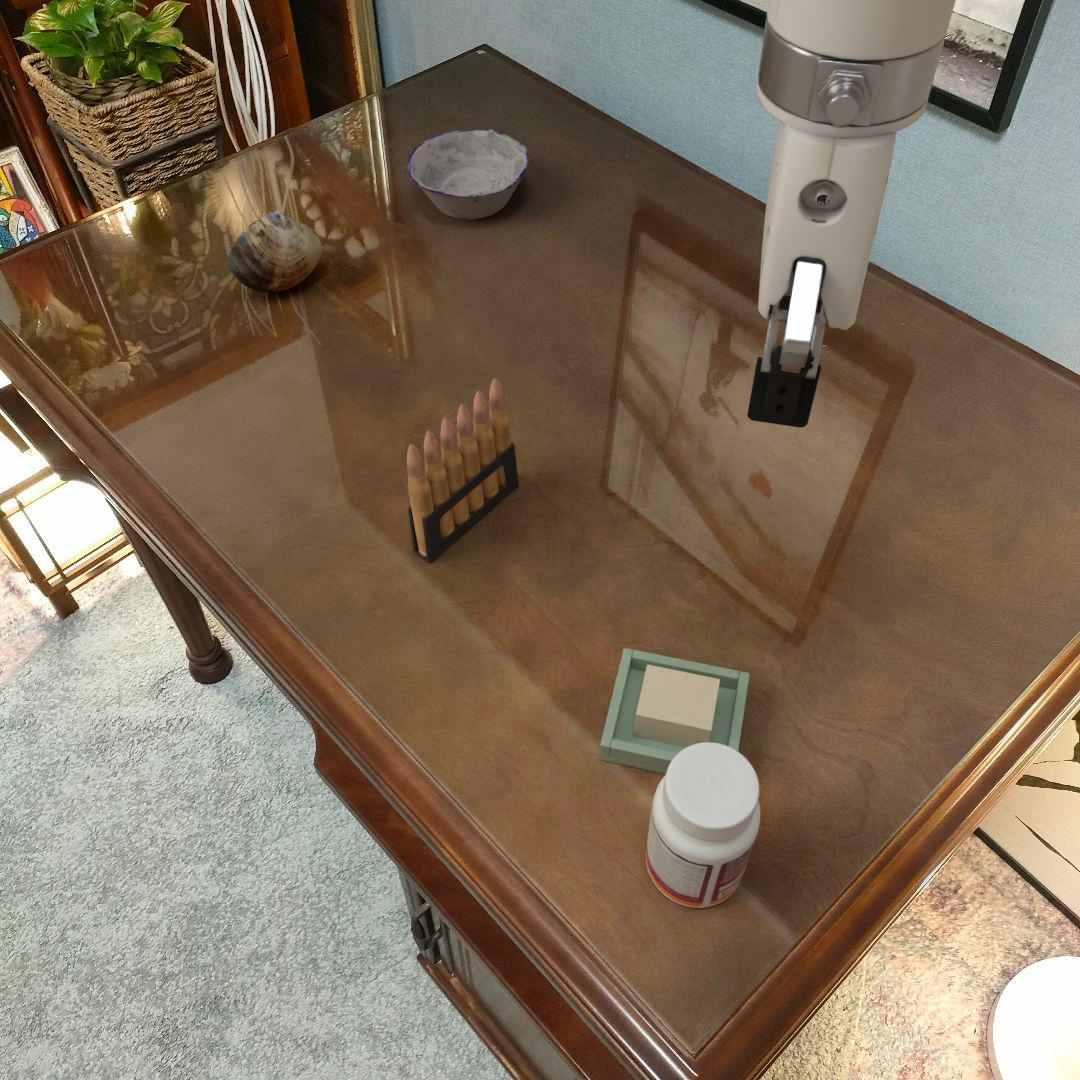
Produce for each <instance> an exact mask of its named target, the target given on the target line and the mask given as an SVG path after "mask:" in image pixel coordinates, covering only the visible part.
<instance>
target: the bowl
mask: <svg viewBox="0 0 1080 1080" xmlns="http://www.w3.org/2000/svg"><path fill="white" fill-rule="evenodd" d="M528 153H529V149H528V148H527V147H526V146H525V145H523V144H521V143H520V142H519V141H518V140H517V139H514V138H513V137H511V136H510V135H507V134H505V133H503V132H502V131H495V129H491V128H490V129H489V130H484V129H467V130H455V131H449V132H443V133H439V134H438V135H434V136H432V137H430V138H428V139H426V140H424V141H423V142H422V143H420V144H419V145H417V146H416V147H413V150H412V152H411V153H410V154H409V157H408V160H407V165H406V166H407V167H406V168H407V173H408V175H409V177H410V179H411V180H412V181H413V182H414V183H415V184H416V185H417V186H418V187H419V188H420V189H421V190H422V191H423V193H424V194H425V195H426V196H427V198H429V200H430V201H431V203H432V204H433V205H434V206H435V207H436V208H437V209H438V210H439V211H440V212H441V213H443V214H444V215H446V216H448V217H451V218H454V219H459V220H472V221H473V220H479V219H483V218H487V217H490V216H493V215H495V214H497V213H498V212H500V211H502V209H504V208H505V207H506V205H507V204H508V203H509V200H510V199H511V197H512V196H513V194H514V192H515V191H516V189H517V187H518V186H519V184H520V182H521V180H522V179H523V177H524V176H525V174H526V173H527V171H528V169H529V164H530V157H529V156H530V155H529V154H528Z"/></svg>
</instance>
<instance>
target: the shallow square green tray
mask: <svg viewBox="0 0 1080 1080" xmlns="http://www.w3.org/2000/svg"><path fill="white" fill-rule="evenodd" d="M647 665H653V666H658V667H662V668H667V669H672V670H677V671H682V672H687V673H692V674H697V675H702V676H707V677H711V678H716V679H720V684H719V690H718V696H717V702H716V708H715V714H714V720H713V726H712V731H711V736H710V740H709V742H712V743H719V744H723V745H726V746H729V747H731V748H733V749H735V750H736V751H738V752H740V751H739V750H740V744H741V737H742V729H743V724H744V723H743V722H744V718H745V717H744V716H745V710H746V703H747V697H748V690H749V682H750V676H751V673H750V672H747V671H740V670H736V669H732V668H727V667H722V666H717V665H712V664H709V663H708V664H707V663H702V662H698V661H697V662H696V661H692V660H687V659H682V658H677V657H674V656H673V657H672V656H668V655H662V654H658V653H653V652H648V651H643V650H637V649H633V648H628V647H624V648H623V650H622V654H621V659H620V662H619V666H618V670H617V674H616V677H615V682H614V686H613V691H612V694H611V698H610V702H609V707H608V711H607V715H606V719H605V723H604V728H603V732H602V735H601V740H600V744H599V760H601V761H605V762H609V763H614V764H618V765H623V766H628V767H632V768H636V769H641V770H646V771H650V772H655V773H657V774H658V773H659V774H663V775H666V772H667V769H668V767H669V765H670V763H671V761H672V760H673V758H674V757H675V756H676V755H677V754H678V753H679V752H680V751H682V750H683V749H685V748H686V747H681V746H677V745H672V744H667V743H663V742H658V741H654V740H649V739H644V738H640V737H635V736H634V727H635V718H636V711H637V707H638V702H639V698H640V693H641V689H642V685H643V680H644V676H645V671H646V667H647Z"/></svg>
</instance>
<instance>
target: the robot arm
mask: <svg viewBox="0 0 1080 1080" xmlns="http://www.w3.org/2000/svg"><path fill="white" fill-rule="evenodd" d="M956 1H957V0H768V2H767V9H766V10H767V11H766V17H765V24H764V30H763V38H762V39H763V40H762V45H761V52H760V59H759V67H758V73H757V81H756V87H755V88H756V89H755V93H756V98H757V101H758V102H759V104H760V106H761V107H762V109H763V110H764V111H765V112H766V113H768V114H769V115H770V116H771V117H773V119H775V120H776V121H777V127H776V134H775V141H774V145H773V146H774V147H773V153H772V161H771V167H770V174H769V182H768V189H767V197H766V205H765V214H764V221H763V222H764V223H763V233H762V234H763V235H762V245H761V255H760V256H761V257H760V271H759V273H760V274H759V284H758V285H759V286H758V301H757V302H758V304H757V311H758V312H759V314H760V316H762V318H763V319H764V320H766V321H768V324H767V331H766V337H765V342H764V347H763V353H762V357H761V356H757V357H756V358H757V359H756V365H755V370H754V374H753V379H752V386H751V391H750V396H749V397H750V398H749V403H748V409H747V415H746V416H747V418H748V419H749V420H751V421H752V422H753V421H754V422H758V423H759V422H760V423H764V424H765V423H767V424H772V425H780V426H786V427H793V428H804V427H807V425H808V424H809V420H810V415H811V412H812V408H813V404H814V399H815V395H816V392H817V387H818V383H819V380H820V375H821V370H822V365H821V364H819V362H820V357H821V352H822V348H823V347H822V346H823V342H824V335H825V330H826V324H827V323H828V327H829V328H830V329H840V331H846V330H849V329H850V328H851V327H852V326H854V324H856V321H857V316H858V311H859V306H860V301H861V297H862V293H863V288H864V284H865V280H866V277H867V276H866V275H867V271H868V267H869V262H870V259H871V254H872V251H873V246H874V242H875V238H876V233H877V229H878V224H879V221H880V217H881V213H882V209H883V208H882V207H883V204H884V199H885V195H886V190H887V186H888V181H889V177H890V171H891V166H892V161H893V156H894V151H895V146H896V139H897V133H898V132H899V131H902V130H904V129H907V128H909V127H910V126H911V125H913V124H914V123H916V122H917V121H918V120H919V119H920V117H922V116H923V115H924V113H925V110H926V108H927V105H928V101H929V98H930V93H931V90H932V87H933V83H934V79H935V76H936V72H937V69H938V65H939V61H940V57H941V54H942V50H943V47H944V44H945V39H946V37H947V33H948V29H949V26H950V22H951V18H952V16H953V15H952V14H953V11H954V7H955V4H956ZM780 322H781V323H785V327H784V328H785V329H784V334H783V339H782V343H781V345H777V340H778V334H779V327H780Z"/></svg>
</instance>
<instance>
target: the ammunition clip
mask: <svg viewBox="0 0 1080 1080" xmlns="http://www.w3.org/2000/svg"><path fill="white" fill-rule="evenodd" d="M488 393H489V396H488V401H489V402H487V399H486V397H485V395H484V393H483V392H482V391H481V390H477V391H476V393H475V396H474V399H473V407H472V408H473V409H472V414H473V418H472V416H471V414H470V411H469V408H468V407H467V406H466V404H465V403H461V404H460V405H459V407H458V409H457V416H456V430H455V427H454V425H453V423H452V421H451V419H450V418H449V417H448V416H444V417H443V419H442V421H441V426H440V445H439V442H438V440H437V437H436V436H435V434H434V432H433V431H432V430H431V429H427V430H426V432H425V435H424V440H423V454H424V455H423V457H424V461H423V458H422V455H421V453H420V451H419V449H418V448H417V446H416V445H415V444H414V443H410V444H409V446H408V448H407V452H406V469H407V480H408V483H407V492H408V497H409V503H410V506H409V507H408V508H407V513H408V520H409V521H408V522H409V529H410V535H411V541H412V549H413V550H412V551H413V553H414V554H416V555H418V557H420V558H422V559H423V560H425V561H426V562H428V563H433V562H434V561H435V560H437V559H438V558H439V557H440V556H441V555H443V554H444V553H445V552H446V551H447V550H448V549H449V548H450V547H451V546H452V545H454V544H455V543H456V542H457V541H458V540H459V539H460V538H461V537H463V536H465V534H466V533H467V532H468V531H470V530H471V529H472V528H473V527H474V526H475V525H476V524H477V523H478V522H480V521H481V520H482V519H483V518H484V517H486V515H488V514H489V513H490V512H491V511H492V510H493V509H495V508H496V507H497V506H498V505H499V504H500V503H501V502H502V501H503V500H505V499H506V498H507V497H508V496H509V495H510V494H512V492H514V491H515V490H516V489H518V487H519V485H520V484H519V475H518V474H519V473H518V466H517V465H518V464H517V454H516V446H515V443H514V442H512V441H511V432H510V431H511V429H510V419H509V416H508V412H507V406H506V399H505V393H504V390H503V387H502V384H501V381H500V380H499V379H498V378H497V377H496V376H495V377H493V379H492V381H491V383H490V387H489V392H488ZM488 403H489V405H488ZM472 419H473V420H472ZM456 431H457V432H456Z"/></svg>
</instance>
